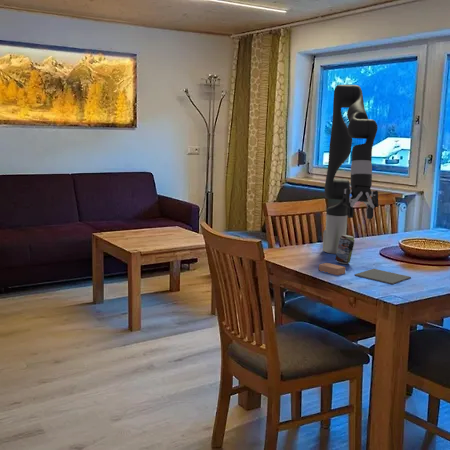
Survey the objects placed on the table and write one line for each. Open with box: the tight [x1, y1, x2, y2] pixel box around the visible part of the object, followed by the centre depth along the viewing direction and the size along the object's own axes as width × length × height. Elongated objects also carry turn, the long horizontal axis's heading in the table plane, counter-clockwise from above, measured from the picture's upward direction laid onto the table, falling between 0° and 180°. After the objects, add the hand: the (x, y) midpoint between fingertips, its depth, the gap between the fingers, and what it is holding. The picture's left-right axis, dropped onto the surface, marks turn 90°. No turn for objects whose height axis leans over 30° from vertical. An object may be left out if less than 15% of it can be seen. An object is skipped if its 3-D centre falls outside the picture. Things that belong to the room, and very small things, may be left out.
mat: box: [354, 268, 412, 285], centre depth 219 cm, size 16×14×1 cm
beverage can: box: [335, 234, 355, 265], centre depth 239 cm, size 6×7×12 cm
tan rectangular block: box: [318, 262, 346, 276], centre depth 225 cm, size 9×5×3 cm, turn 44°
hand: (360, 218), depth 208 cm, fingers open, 8 cm apart
